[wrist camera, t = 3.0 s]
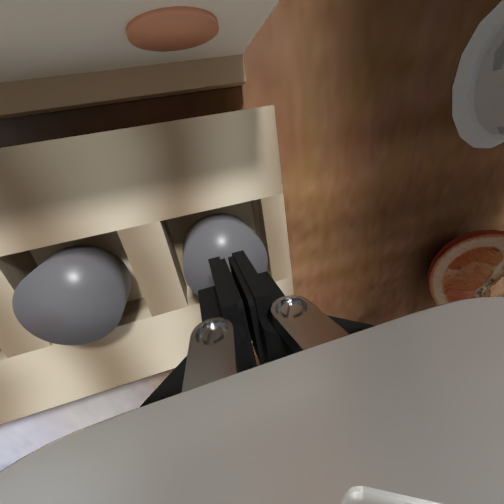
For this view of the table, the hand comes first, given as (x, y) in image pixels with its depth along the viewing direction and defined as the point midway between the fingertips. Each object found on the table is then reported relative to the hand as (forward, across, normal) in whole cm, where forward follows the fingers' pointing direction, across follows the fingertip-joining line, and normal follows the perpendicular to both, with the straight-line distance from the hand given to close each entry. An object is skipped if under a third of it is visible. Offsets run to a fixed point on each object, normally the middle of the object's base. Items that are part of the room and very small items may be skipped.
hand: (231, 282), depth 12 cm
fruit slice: (+7, -21, +8) cm, 23 cm away
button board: (+6, +7, 0) cm, 10 cm away
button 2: (+4, 0, 0) cm, 4 cm away
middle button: (+4, +7, 0) cm, 8 cm away
